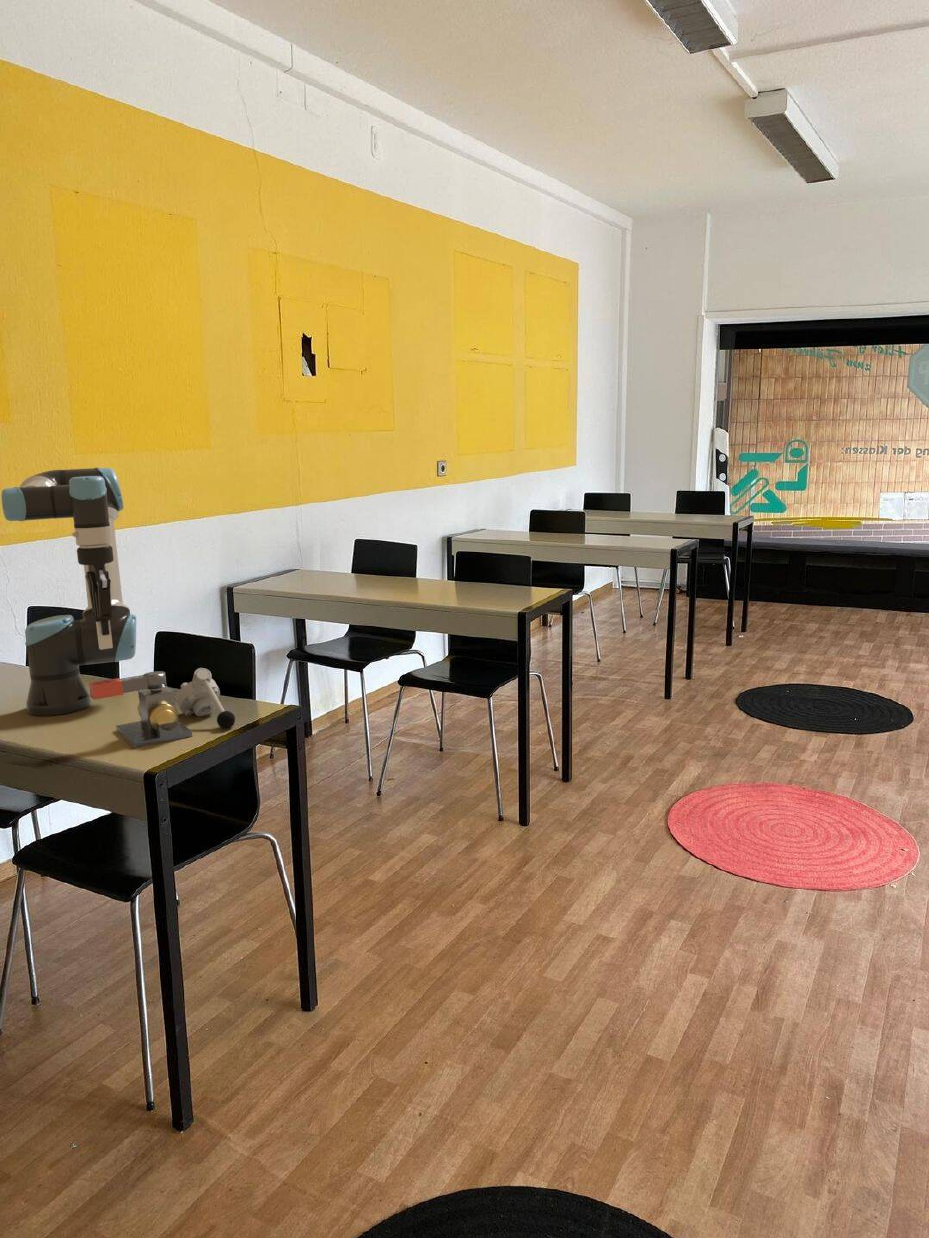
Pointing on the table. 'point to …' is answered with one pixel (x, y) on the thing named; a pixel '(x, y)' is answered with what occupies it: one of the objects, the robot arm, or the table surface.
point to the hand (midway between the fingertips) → (106, 648)
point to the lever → (127, 685)
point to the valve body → (154, 720)
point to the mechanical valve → (203, 698)
